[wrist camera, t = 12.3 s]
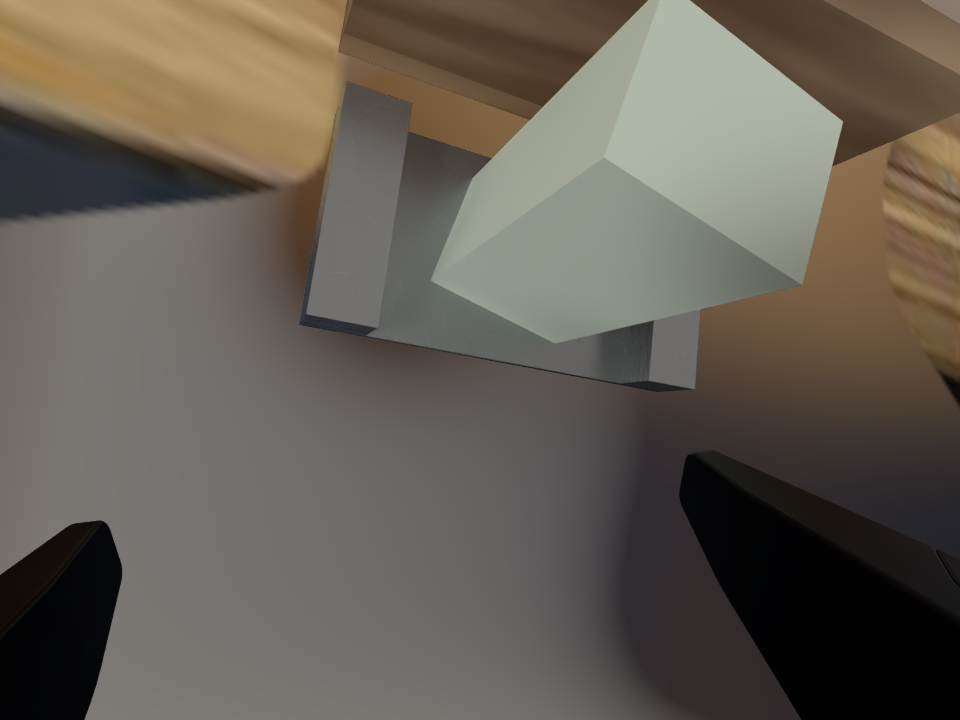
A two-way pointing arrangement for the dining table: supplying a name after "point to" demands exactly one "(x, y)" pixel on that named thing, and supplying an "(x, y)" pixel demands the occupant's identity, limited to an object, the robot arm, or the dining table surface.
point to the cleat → (416, 251)
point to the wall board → (732, 3)
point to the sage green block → (647, 186)
